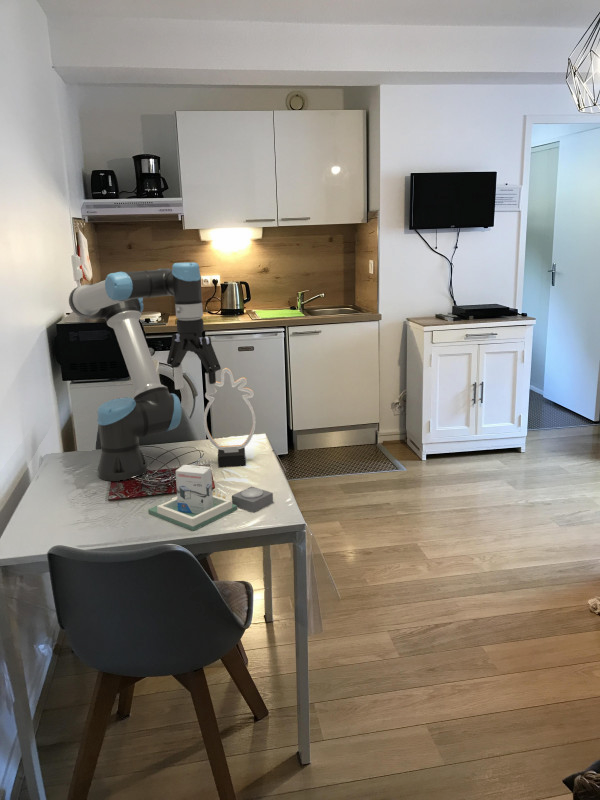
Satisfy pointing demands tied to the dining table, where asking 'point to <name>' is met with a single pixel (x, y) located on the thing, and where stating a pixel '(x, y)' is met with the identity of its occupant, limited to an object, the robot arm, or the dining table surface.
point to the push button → (252, 499)
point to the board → (193, 520)
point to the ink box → (194, 489)
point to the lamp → (234, 453)
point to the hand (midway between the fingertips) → (194, 391)
